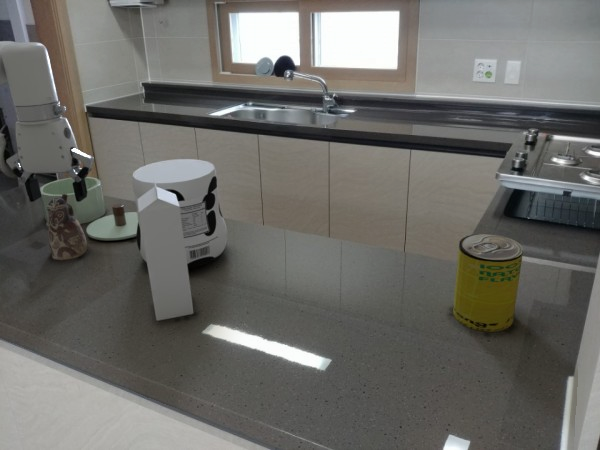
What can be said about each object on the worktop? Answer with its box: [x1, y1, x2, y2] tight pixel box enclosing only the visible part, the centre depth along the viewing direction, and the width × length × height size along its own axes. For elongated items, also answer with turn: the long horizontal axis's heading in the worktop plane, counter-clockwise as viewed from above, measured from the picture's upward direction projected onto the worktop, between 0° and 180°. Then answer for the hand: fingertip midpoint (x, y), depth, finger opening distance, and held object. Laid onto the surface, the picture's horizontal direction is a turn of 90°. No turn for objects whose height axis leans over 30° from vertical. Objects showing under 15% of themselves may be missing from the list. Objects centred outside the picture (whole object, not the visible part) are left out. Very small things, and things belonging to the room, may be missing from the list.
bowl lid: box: [85, 203, 138, 241], centre depth 120 cm, size 15×15×6 cm
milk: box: [137, 179, 194, 322], centre depth 85 cm, size 6×6×22 cm
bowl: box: [39, 176, 106, 225], centre depth 129 cm, size 14×14×8 cm
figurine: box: [45, 194, 88, 261], centre depth 108 cm, size 7×7×12 cm
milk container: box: [131, 158, 228, 269], centre depth 103 cm, size 17×17×18 cm
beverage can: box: [452, 233, 524, 333], centre depth 82 cm, size 9×9×12 cm
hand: (58, 199), depth 106 cm, fingers open, 9 cm apart
